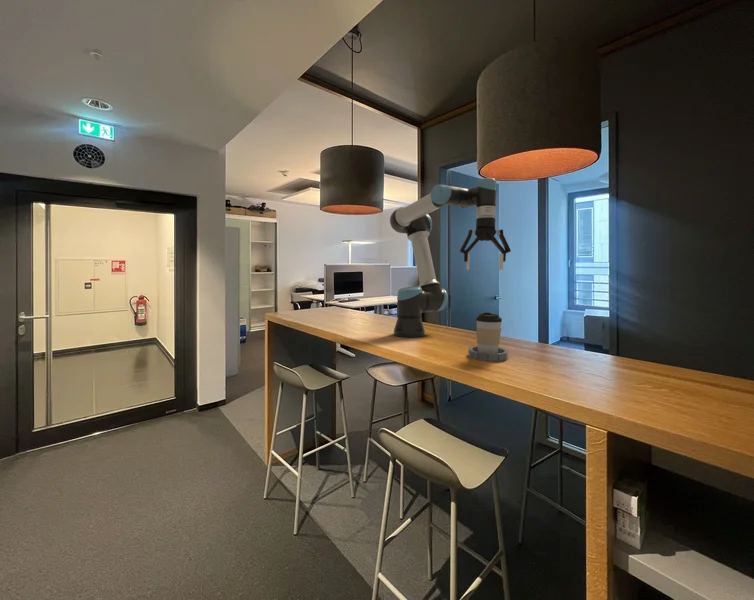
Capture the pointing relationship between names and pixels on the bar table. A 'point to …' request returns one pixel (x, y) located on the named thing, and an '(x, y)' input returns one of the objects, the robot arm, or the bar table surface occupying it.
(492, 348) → the coffee cup
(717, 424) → the bar table surface
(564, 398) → the bar table surface
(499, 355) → the tray
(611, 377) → the bar table surface
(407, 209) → the robot arm
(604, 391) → the bar table surface
